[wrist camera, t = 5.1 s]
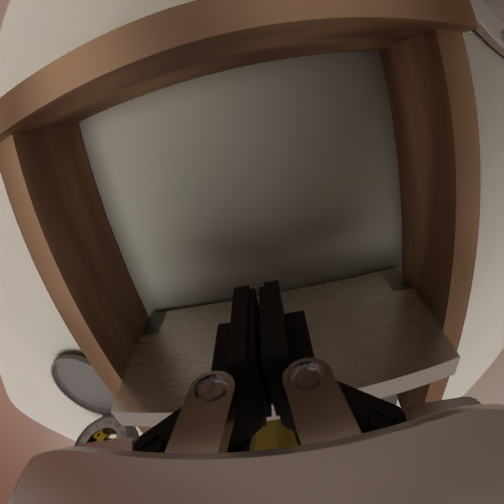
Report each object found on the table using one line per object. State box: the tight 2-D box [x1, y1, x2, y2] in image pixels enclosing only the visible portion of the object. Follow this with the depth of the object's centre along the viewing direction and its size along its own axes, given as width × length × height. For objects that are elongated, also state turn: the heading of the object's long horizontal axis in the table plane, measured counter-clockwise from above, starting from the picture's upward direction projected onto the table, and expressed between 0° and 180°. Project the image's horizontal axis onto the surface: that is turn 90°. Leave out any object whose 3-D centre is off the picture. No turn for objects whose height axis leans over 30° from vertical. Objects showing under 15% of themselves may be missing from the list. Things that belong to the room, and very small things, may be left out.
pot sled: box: [110, 268, 460, 427], centre depth 16 cm, size 14×15×7 cm
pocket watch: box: [51, 354, 139, 446], centre depth 16 cm, size 8×8×10 cm
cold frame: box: [0, 0, 480, 433], centre depth 13 cm, size 17×23×6 cm
